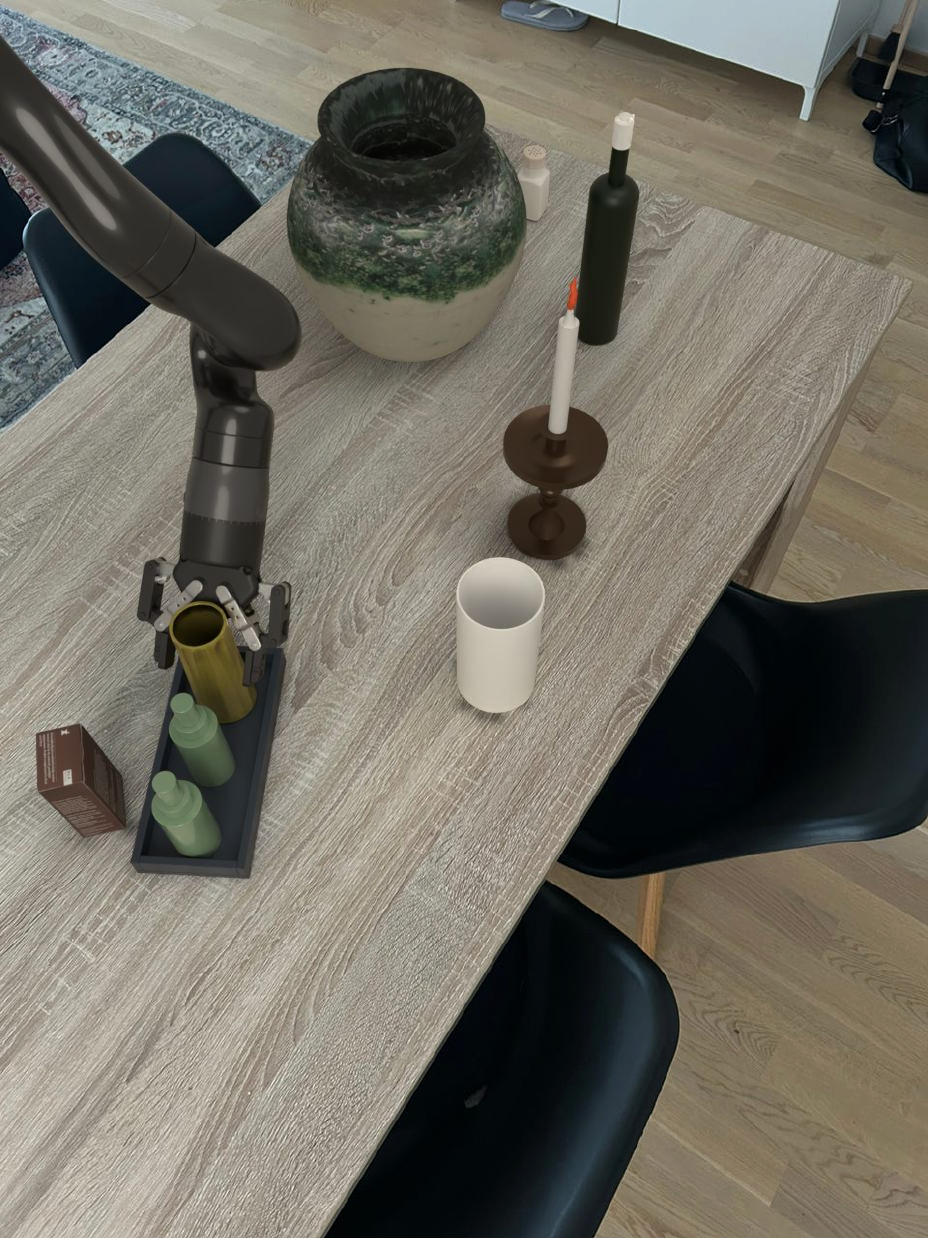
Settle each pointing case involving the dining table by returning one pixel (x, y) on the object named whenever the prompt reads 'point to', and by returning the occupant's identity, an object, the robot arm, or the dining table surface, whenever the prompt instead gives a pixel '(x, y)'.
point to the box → (79, 780)
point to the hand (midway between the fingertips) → (207, 676)
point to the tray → (228, 802)
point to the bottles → (208, 765)
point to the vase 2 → (406, 215)
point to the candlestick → (554, 458)
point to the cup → (498, 633)
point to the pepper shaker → (534, 181)
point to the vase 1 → (212, 660)
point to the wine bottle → (607, 242)
